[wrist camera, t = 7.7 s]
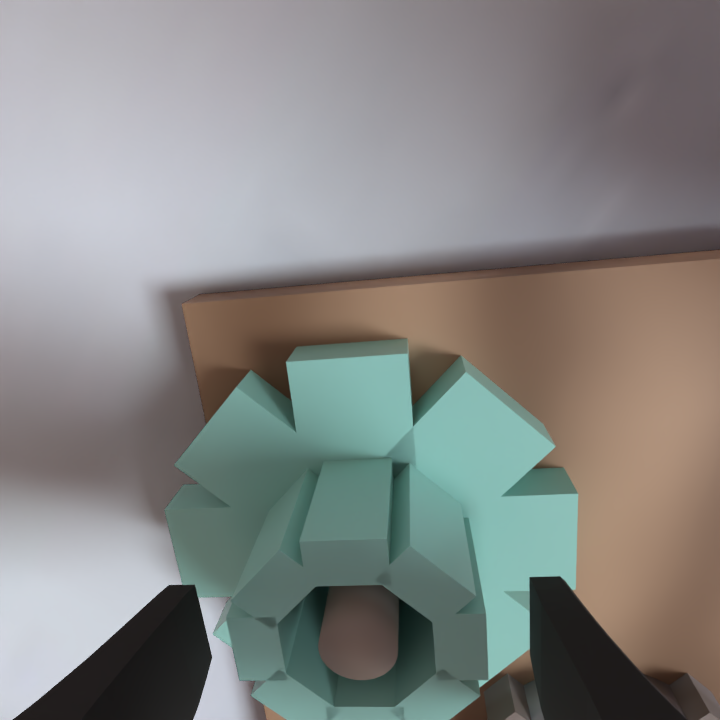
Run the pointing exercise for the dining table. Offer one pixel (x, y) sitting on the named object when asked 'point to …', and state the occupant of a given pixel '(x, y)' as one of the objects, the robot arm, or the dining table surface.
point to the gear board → (563, 423)
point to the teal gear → (372, 527)
